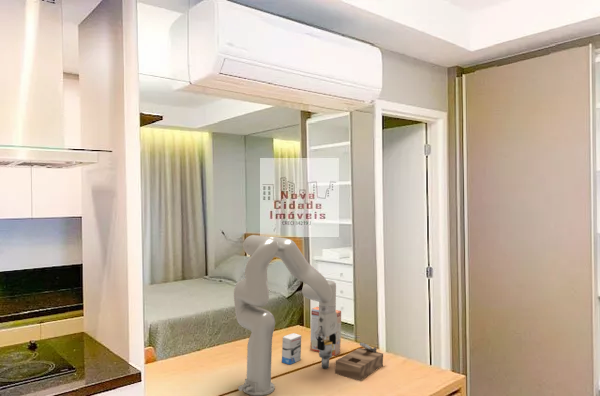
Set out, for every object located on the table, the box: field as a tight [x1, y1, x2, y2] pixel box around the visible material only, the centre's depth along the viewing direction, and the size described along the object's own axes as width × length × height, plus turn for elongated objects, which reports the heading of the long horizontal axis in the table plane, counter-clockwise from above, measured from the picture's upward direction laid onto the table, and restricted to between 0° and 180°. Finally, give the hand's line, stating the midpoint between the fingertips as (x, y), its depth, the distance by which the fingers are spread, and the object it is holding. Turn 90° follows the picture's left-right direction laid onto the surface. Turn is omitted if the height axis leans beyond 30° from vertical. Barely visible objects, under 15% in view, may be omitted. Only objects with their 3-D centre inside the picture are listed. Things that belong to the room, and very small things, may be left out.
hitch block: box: [334, 346, 384, 382], centre depth 203 cm, size 22×12×8 cm, turn 144°
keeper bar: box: [359, 342, 374, 352], centre depth 208 cm, size 10×3×1 cm
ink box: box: [281, 332, 302, 366], centre depth 211 cm, size 8×5×12 cm, turn 143°
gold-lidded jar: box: [318, 340, 333, 370], centre depth 204 cm, size 6×6×12 cm
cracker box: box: [309, 306, 342, 357], centre depth 225 cm, size 14×6×21 cm, turn 58°
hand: (326, 346), depth 205 cm, fingers open, 9 cm apart
